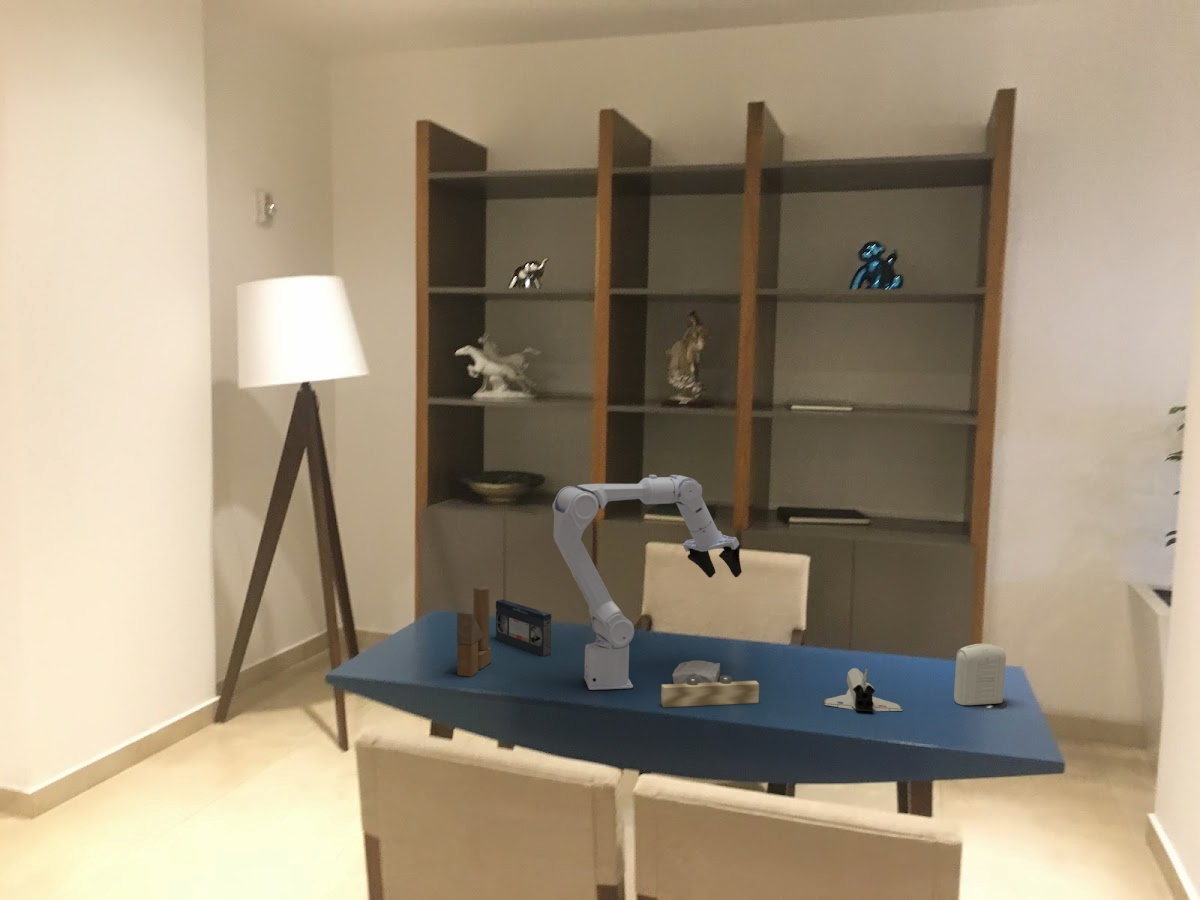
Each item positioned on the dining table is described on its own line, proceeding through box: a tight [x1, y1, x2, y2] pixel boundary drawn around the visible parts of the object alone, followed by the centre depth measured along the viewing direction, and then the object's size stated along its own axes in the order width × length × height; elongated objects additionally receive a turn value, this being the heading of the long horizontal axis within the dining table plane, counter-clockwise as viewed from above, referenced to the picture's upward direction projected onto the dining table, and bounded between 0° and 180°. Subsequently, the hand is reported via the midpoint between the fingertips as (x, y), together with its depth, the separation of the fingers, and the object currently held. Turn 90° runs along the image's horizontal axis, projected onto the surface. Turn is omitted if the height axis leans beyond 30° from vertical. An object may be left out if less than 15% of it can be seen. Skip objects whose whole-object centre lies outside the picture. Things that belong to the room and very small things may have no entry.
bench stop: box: [660, 674, 760, 708], centre depth 194 cm, size 20×3×5 cm, turn 99°
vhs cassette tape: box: [495, 599, 552, 657], centre depth 229 cm, size 18×3×10 cm, turn 43°
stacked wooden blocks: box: [456, 585, 492, 677], centre depth 211 cm, size 4×11×18 cm, turn 163°
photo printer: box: [953, 643, 1007, 706], centre depth 196 cm, size 10×4×12 cm, turn 103°
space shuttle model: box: [823, 666, 903, 712], centre depth 200 cm, size 16×25×10 cm, turn 171°
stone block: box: [671, 659, 721, 684], centre depth 206 cm, size 12×5×10 cm
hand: (725, 574), depth 213 cm, fingers open, 7 cm apart
